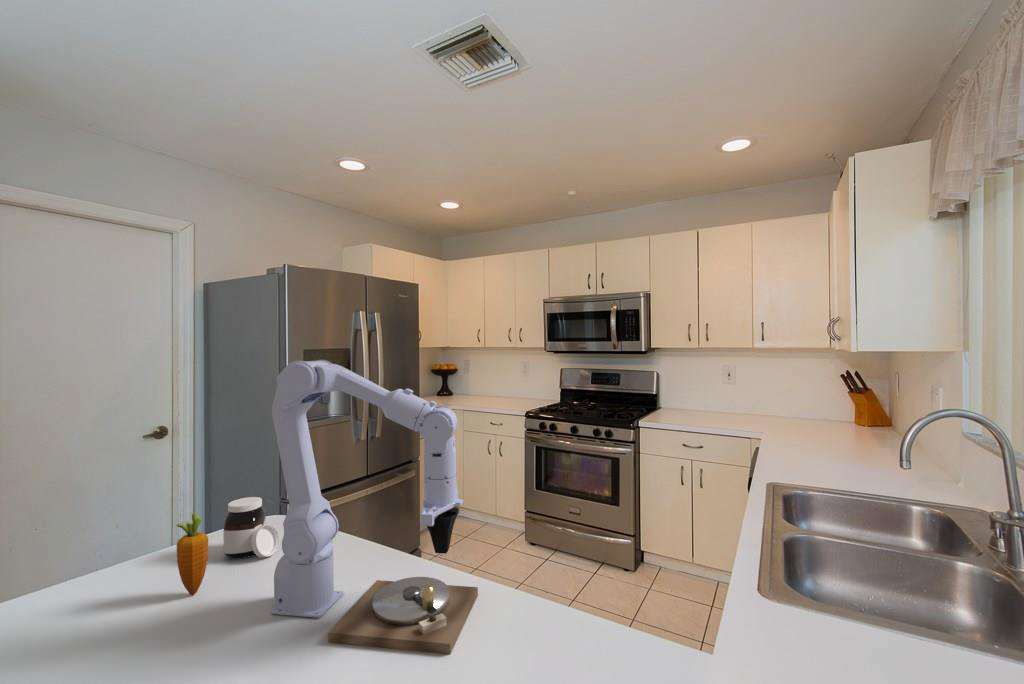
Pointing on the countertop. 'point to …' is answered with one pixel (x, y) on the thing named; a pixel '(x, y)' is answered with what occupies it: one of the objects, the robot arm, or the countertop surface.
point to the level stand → (421, 636)
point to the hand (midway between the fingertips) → (441, 551)
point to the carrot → (192, 555)
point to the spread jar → (248, 530)
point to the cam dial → (410, 600)
